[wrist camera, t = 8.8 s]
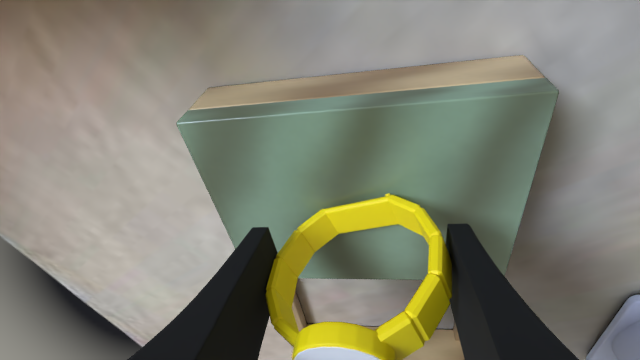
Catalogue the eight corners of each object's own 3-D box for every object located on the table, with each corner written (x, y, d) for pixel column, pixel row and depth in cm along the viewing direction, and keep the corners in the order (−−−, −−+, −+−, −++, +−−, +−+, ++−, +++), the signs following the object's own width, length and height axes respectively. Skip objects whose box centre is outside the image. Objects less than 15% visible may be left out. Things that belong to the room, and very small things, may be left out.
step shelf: (524, 53, 12) (560, 90, 9) (463, 337, 24) (473, 383, 22) (207, 87, 14) (174, 123, 12) (299, 329, 26) (292, 370, 24)
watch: (424, 163, 12) (457, 334, 7) (444, 218, 13) (482, 389, 8) (276, 206, 14) (226, 357, 9) (307, 248, 15) (277, 397, 11)
